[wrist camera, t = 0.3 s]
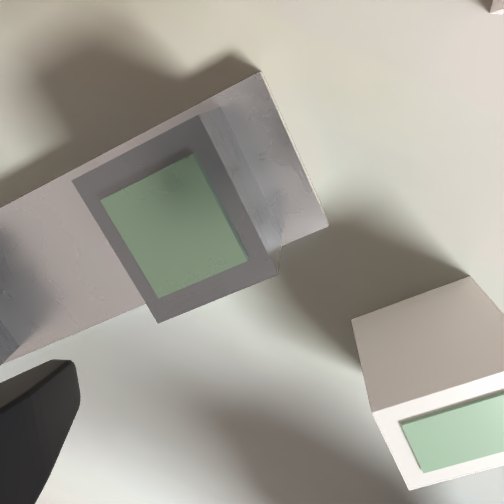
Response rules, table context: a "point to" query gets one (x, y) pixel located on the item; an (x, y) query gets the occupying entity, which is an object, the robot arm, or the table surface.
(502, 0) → the white angled block
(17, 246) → the rail
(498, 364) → the block
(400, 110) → the table surface
